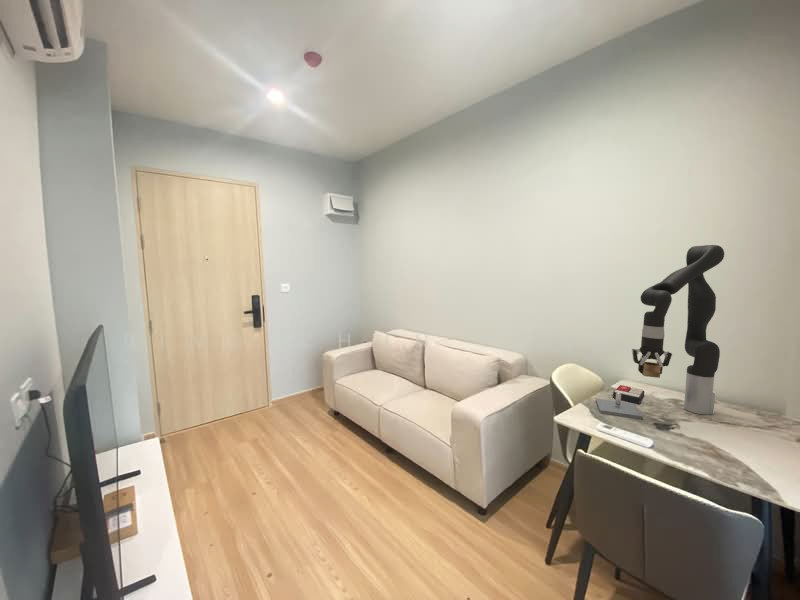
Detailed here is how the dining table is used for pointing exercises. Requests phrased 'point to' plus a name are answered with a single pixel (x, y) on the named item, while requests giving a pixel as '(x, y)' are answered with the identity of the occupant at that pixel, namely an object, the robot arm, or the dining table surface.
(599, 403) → the board
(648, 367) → the brown boxy piece
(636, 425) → the dining table surface
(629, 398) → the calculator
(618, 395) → the post
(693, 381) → the robot arm
